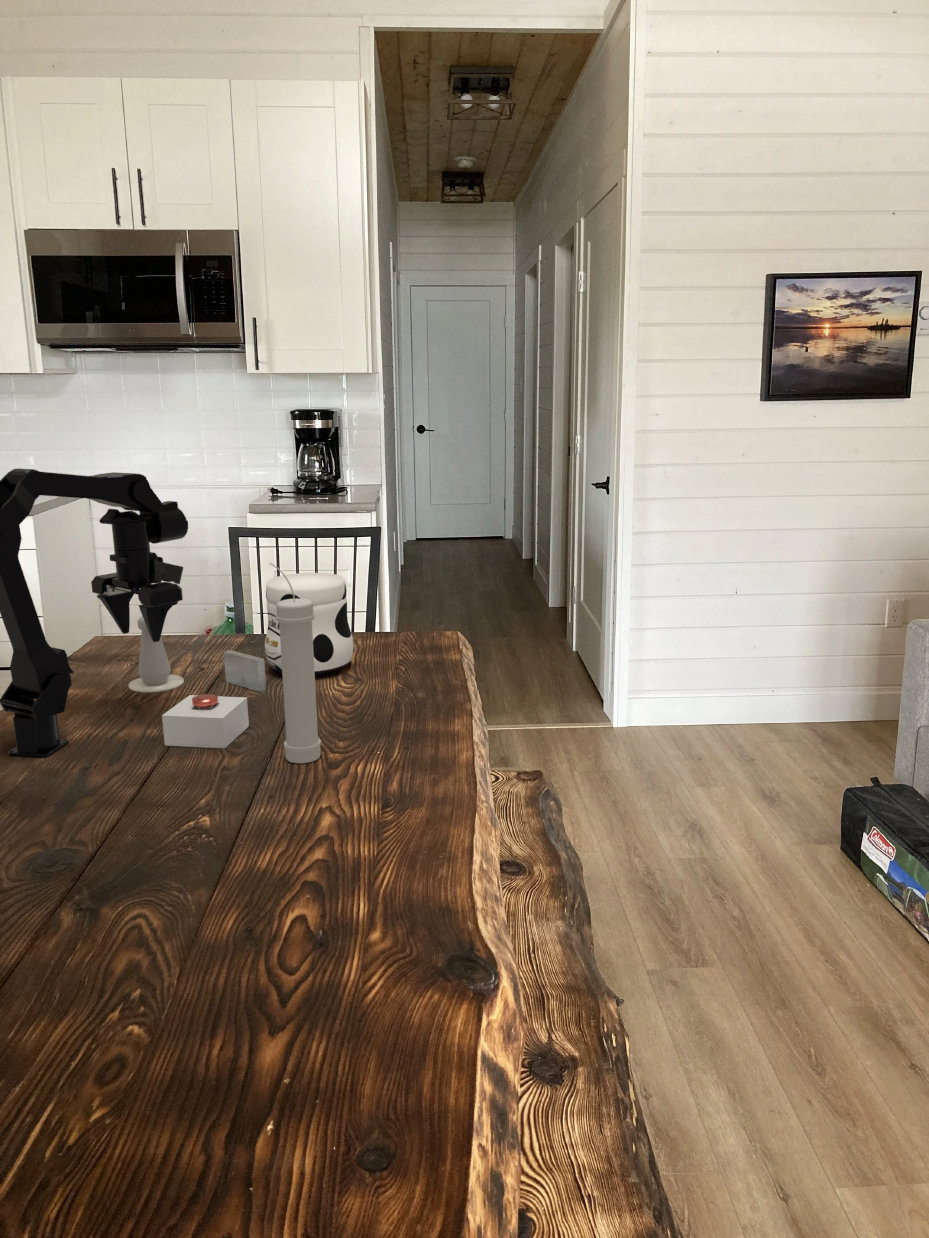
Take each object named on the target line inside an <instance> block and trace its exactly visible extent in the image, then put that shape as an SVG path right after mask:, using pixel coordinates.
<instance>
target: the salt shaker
mask: <svg viewBox="0 0 929 1238" xmlns="http://www.w3.org/2000/svg"><path fill="white" fill-rule="evenodd" d="M137 627H138V629H139V630H141V634H140V645H139V646H140V647H139V658H138V659H139V660H138V661H139V663H138V671H137V673H138V675H139V678H141V679H142V681H143V683H144V684H146V685H148V686H158V685H161V684H164V683H166V682H167V679H168V676H169V674H170V675H171V664H170V662H169V659H168V655H167V651H166V648H165V645H164V642H163V639H162V636H161V637H160V640H159V641H158V642H153V641H152V639H151V636H150V634H149V632H148V629H147V626H146V624H145V621H144V619H143V616H139V618H138V619H137Z"/></svg>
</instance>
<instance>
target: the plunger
mask: <svg viewBox="0 0 929 1238" xmlns="http://www.w3.org/2000/svg"><path fill="white" fill-rule="evenodd" d="M217 703H218V695H216V694H213V693H204V694H199V695H198V696H195V697H193V698H192V705H193V706H196V707H198V710H212V709H213V705H215V704H217Z"/></svg>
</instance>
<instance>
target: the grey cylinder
mask: <svg viewBox="0 0 929 1238" xmlns="http://www.w3.org/2000/svg"><path fill="white" fill-rule="evenodd" d="M269 565H271V566H273V567H274V568H275V569H277V571H279V572H280V573H281V574H282V576H283V575H284V577H285V578H286V580H287V581H288V579H287V577H286V576H285V575H286V574H285V573H284V572H283V571H282V569H280V568H279V567H278V566H276V565H275V564H274V563H272V562H269ZM288 583H289V585H290V588H291V591H292V594H293V599H287V600H282V601H280V602H278V603H277V605H276V608H277V616H276V620H277V621H278V622H279V626H280V643H281V660H282V673H281V675H282V687H283V688H282V690H283V693H282V694H283V708H284V724H285V740H284V742H283V747H284V752H285V753H284V755H285V756H284V757H285V760H287V762H290V763H294V764H308V763H313V762H315V761H317V760H318V759H320V756H321V744H322V740H321V738H320V737H319V733H318V716H317V715H318V714H317V696H316V695H317V694H316V692H317V691H316V677H315V676H316V675H315V671H314V652H313V632H312V620H314V618H315V616H314V614H313V603H312V601H311V600H307V599H295V597H294V593H293V589H292V587H291V584H290V582H289V581H288Z"/></svg>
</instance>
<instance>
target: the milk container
mask: <svg viewBox="0 0 929 1238" xmlns="http://www.w3.org/2000/svg"><path fill="white" fill-rule="evenodd" d="M284 575H285V576H286V577H287V579H288V581H289V582H290V584H291V587H292V589H293V593H294V597H295V599H307V600H311V601H312V603H313V614H314V616H315V618H314V620H312V632H313V652H314V671H315V676H318V675H321V674H328V673H331V672H335V671H339V670H341V669H343V668H344V667H346V666H347V665H349V663H350V662H351V660H352V658H353V655H354V654H353V653H354V637H353V634H352V631H351V628H350V625H349V620H348V599H347V592H348V591H347V586H346V584H347V583H346V580H345V578H344V577H343V576H342V575H339V574H335V573H327V572H301V573H300V572H299V573H298V572H297V573H290V574H284ZM284 575H283V574H282V575H279V576H275V577H272V578H268V580H267V581H266V582H265V583H266V585H265V597H266V598H265V599H266V610H267V613H266V614H267V622H268V623H267V630H266V631H267V632H266V635H265V640H264V653H265V657H266V661H267V663H268V665H269V666H270V668H271V669H273V670H274V671H277V672H279V673H281V674H282V660H281V643H280V626H279V622H278V621H277V620H276V616H277V608H276V605H277V603H278V602H280V601H282V600H287V599H293V594H292V591H291V588H290V585H289V583H288V581H287V580H286V578H285V577H284Z"/></svg>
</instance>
